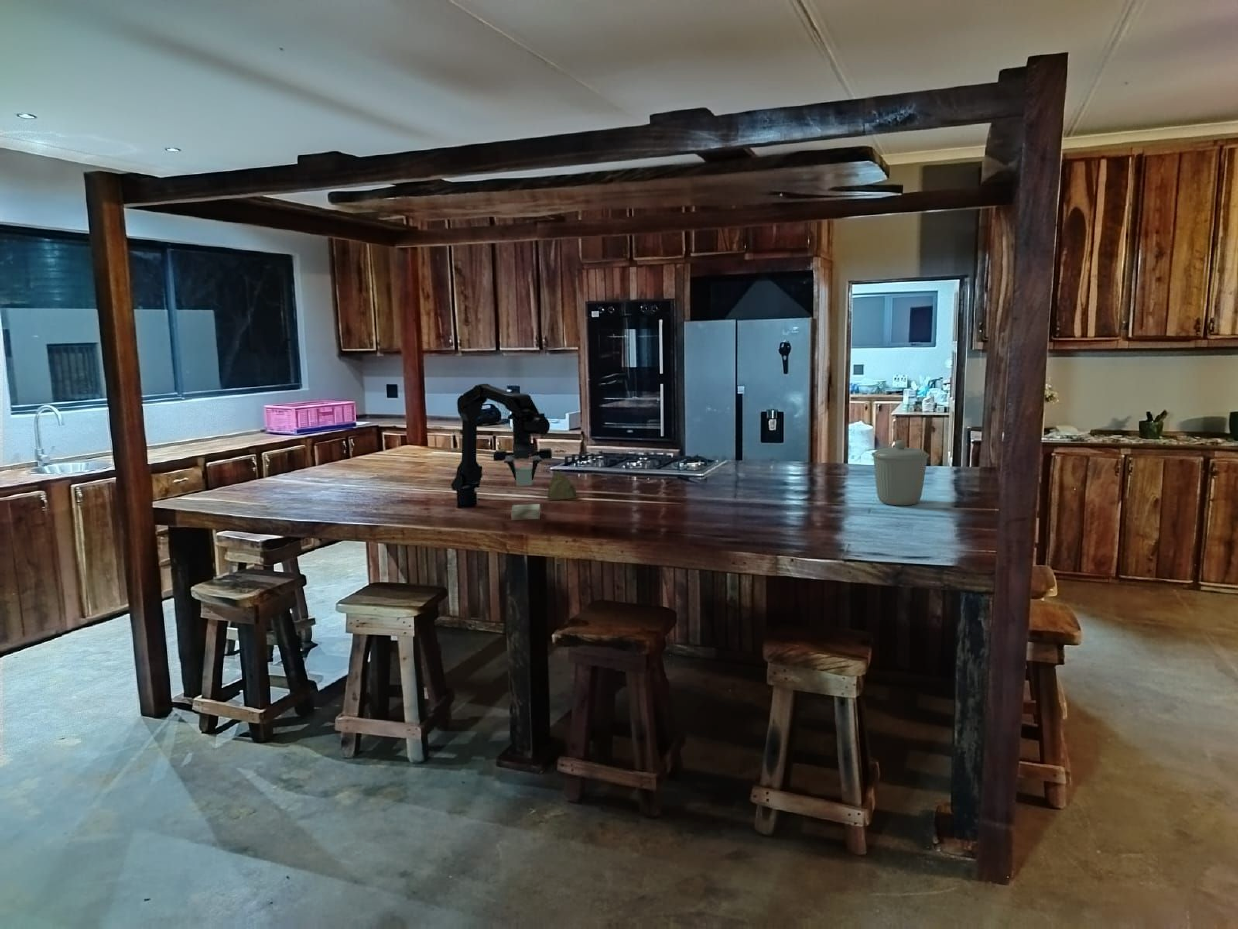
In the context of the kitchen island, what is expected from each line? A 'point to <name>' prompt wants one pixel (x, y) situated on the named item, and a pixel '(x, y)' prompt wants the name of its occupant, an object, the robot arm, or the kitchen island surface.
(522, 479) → the block
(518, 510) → the plinth
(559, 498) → the rock
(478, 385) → the robot arm
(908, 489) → the canister
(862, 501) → the kitchen island surface
